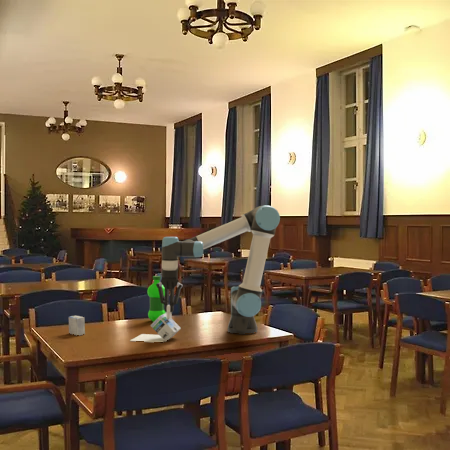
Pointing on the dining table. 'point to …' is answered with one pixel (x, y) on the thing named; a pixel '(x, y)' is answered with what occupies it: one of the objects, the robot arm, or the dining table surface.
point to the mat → (148, 338)
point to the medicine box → (76, 325)
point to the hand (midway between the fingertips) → (169, 318)
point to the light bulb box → (165, 327)
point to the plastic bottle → (155, 300)
